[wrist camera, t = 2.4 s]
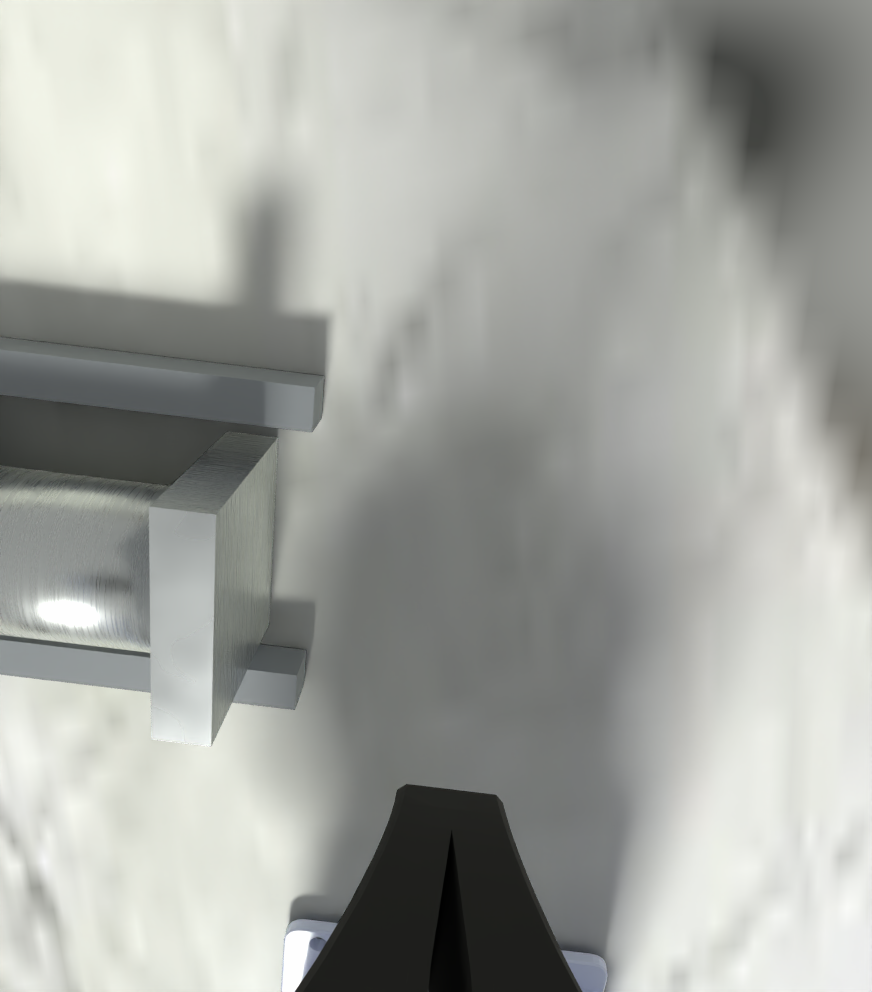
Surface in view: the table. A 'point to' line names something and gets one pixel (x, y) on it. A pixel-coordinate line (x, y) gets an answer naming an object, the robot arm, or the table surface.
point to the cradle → (169, 393)
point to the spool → (149, 573)
